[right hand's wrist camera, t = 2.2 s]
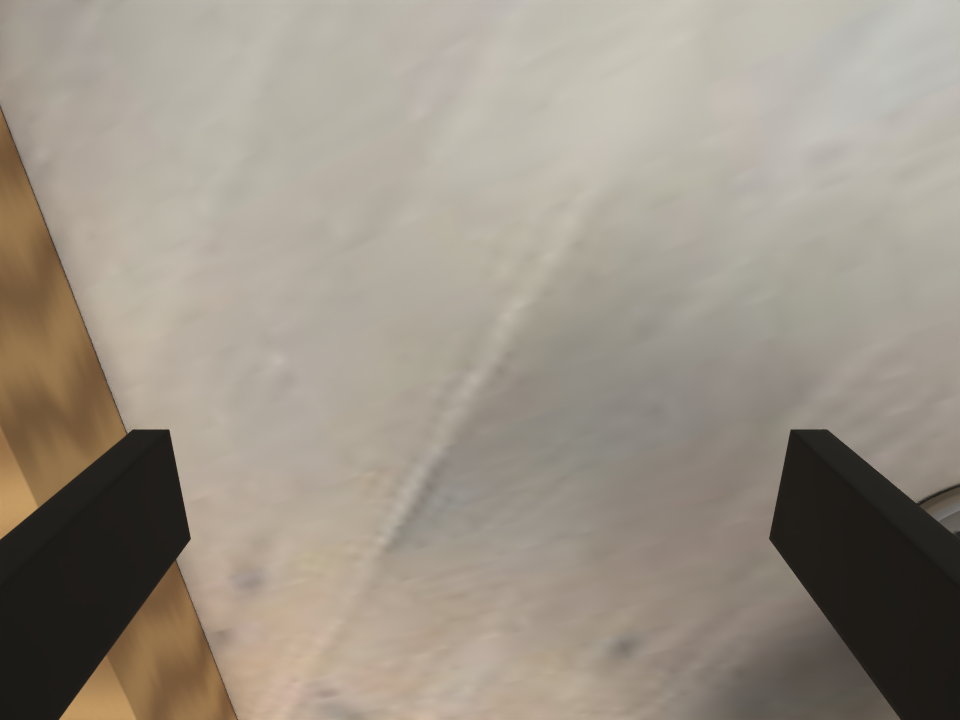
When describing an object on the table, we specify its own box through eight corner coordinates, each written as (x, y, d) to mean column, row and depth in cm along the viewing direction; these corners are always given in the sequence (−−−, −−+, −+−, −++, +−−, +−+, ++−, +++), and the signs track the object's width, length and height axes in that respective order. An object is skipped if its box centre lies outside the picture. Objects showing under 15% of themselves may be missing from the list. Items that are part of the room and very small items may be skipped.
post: (255, 764, 44) (211, 882, 37) (189, 771, 45) (134, 889, 37) (-170, -335, 24) (-449, -540, 17) (-287, -310, 24) (-610, -501, 17)
